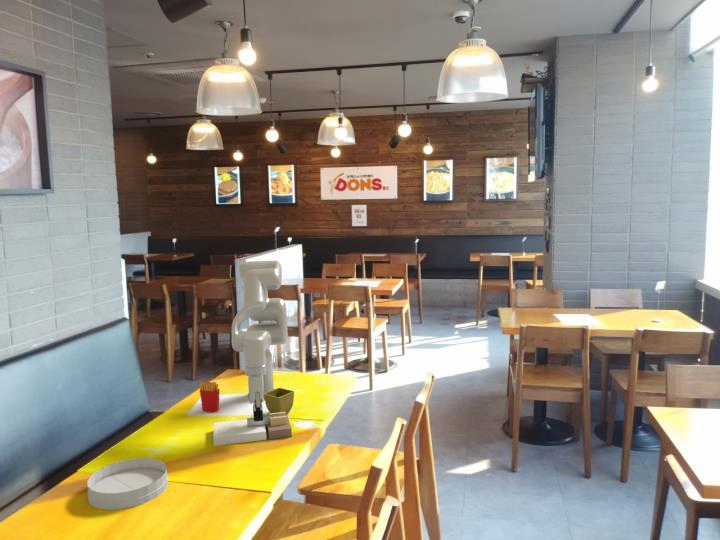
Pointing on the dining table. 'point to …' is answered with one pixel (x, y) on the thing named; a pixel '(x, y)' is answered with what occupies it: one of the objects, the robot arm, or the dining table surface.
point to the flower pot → (279, 400)
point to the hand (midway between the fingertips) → (258, 418)
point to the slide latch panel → (251, 430)
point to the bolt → (258, 423)
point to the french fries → (209, 396)
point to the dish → (127, 483)
